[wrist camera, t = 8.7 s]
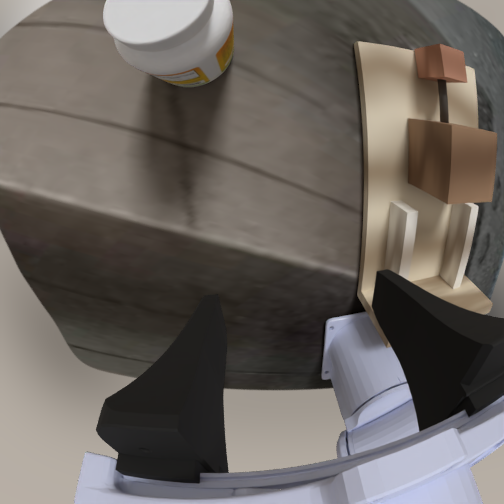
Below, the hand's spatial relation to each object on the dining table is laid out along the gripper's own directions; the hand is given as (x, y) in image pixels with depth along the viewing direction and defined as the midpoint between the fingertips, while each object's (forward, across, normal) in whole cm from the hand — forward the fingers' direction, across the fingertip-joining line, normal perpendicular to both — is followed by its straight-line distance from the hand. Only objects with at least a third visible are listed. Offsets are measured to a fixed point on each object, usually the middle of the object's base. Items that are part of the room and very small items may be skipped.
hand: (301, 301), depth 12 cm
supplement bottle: (+10, +4, -13) cm, 17 cm away
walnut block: (+8, -13, -8) cm, 17 cm away
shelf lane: (+9, -13, -2) cm, 16 cm away
